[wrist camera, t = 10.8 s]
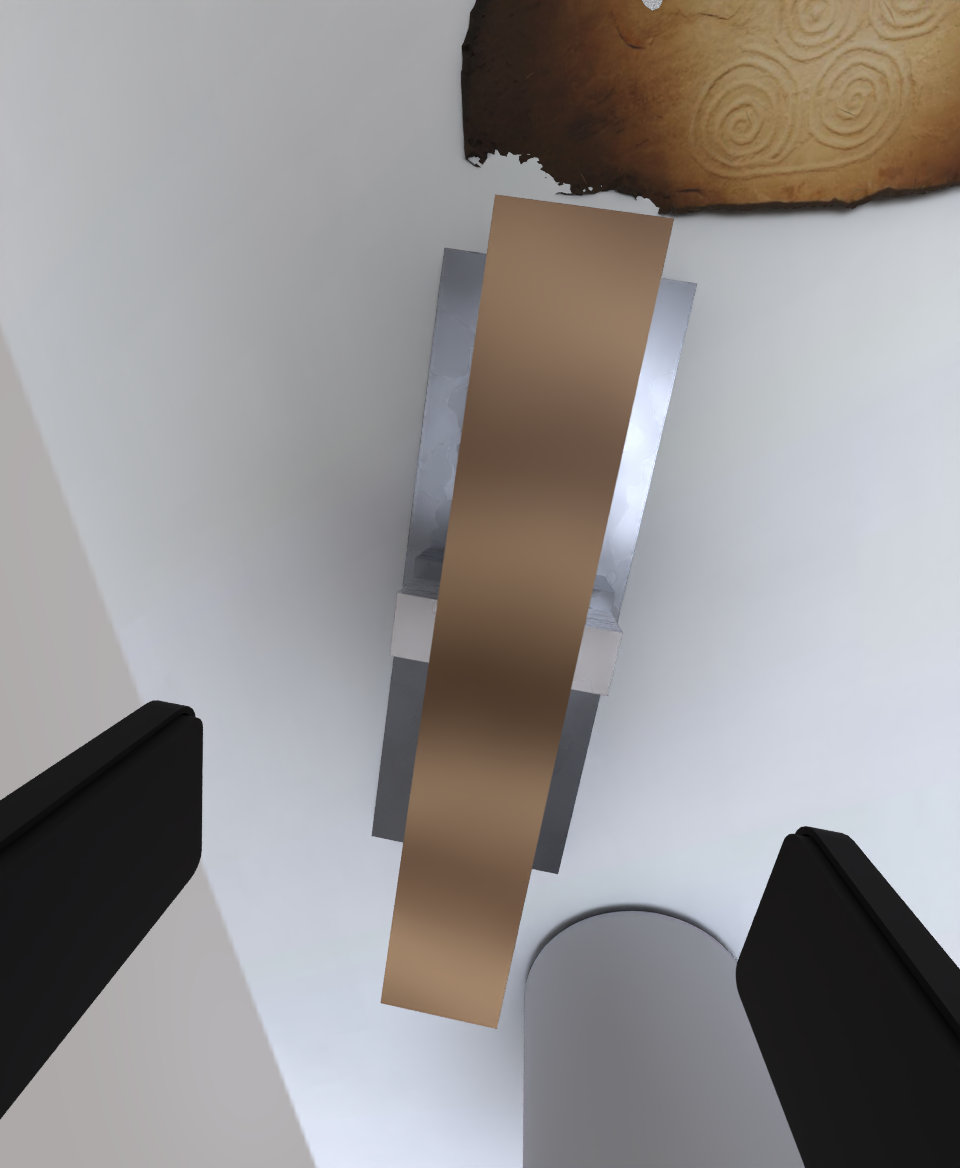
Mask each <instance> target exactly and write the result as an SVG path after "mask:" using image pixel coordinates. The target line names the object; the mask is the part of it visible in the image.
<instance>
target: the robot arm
mask: <svg viewBox="0 0 960 1168" xmlns="http://www.w3.org/2000/svg"><path fill="white" fill-rule="evenodd" d="M202 766H203V724H202V721H201V719H199V718H196V717H195V712H194V711H193V709H192V708H191V707H189V706H184V705H179V704H174V703H168V702H163V701H158V700H157V701H151V702H149V703H147V704H145V705H144V706H142V707H140V708H139V709H137V710H136V711H134V712H133V713H131V714H130V715H128V716H127V717H126V718H124V719H122V720H121V721H120V722H118V723H116V724H115V725H113V726H112V727H110V728H109V729H107V730H106V731H104V732H103V733H101V734H100V735H98V736H97V737H95V738H94V739H92V740H91V741H89V742H88V743H86V744H85V745H84V746H82V747H80V748H79V749H77V750H76V751H74V752H73V753H71V754H70V755H68V756H67V757H65V758H64V759H62V760H61V761H59V762H57V763H56V764H54V765H53V766H51V767H50V768H48V769H47V770H45V771H44V772H43V773H41V774H39V775H38V776H36V777H35V778H34V779H32V780H30V781H29V782H27V783H26V784H24V785H23V786H21V787H20V788H18V789H17V790H15V791H14V792H12V793H11V794H9V795H8V796H6V797H5V798H3V799H2V800H0V1119H1V1118H2V1117H3V1115H4V1114H5V1113H6V1111H7V1110H8V1109H9V1108H10V1106H11V1105H12V1104H13V1102H14V1101H15V1100H16V1099H17V1097H18V1096H19V1095H20V1094H21V1092H22V1091H23V1090H24V1089H25V1087H26V1086H27V1085H28V1084H29V1082H30V1081H31V1080H32V1079H33V1077H34V1076H35V1074H36V1073H37V1072H38V1071H39V1070H40V1068H41V1067H42V1066H43V1065H44V1063H45V1062H46V1061H47V1060H48V1058H49V1057H50V1056H51V1054H52V1053H53V1052H54V1051H55V1050H56V1048H57V1047H58V1046H59V1044H60V1043H61V1042H62V1041H63V1039H64V1038H65V1037H66V1036H67V1034H68V1033H69V1032H70V1031H71V1029H72V1028H73V1027H74V1025H75V1024H76V1023H77V1022H78V1020H79V1019H80V1018H81V1016H82V1015H83V1014H84V1013H85V1011H86V1010H87V1009H88V1008H89V1006H90V1005H91V1004H92V1003H93V1001H94V1000H95V999H96V997H97V996H98V995H99V994H100V993H101V991H102V990H103V989H104V988H105V986H106V985H107V984H108V982H109V981H110V980H111V978H112V977H113V976H114V975H115V974H116V972H117V971H118V969H120V967H121V966H122V965H123V964H124V962H125V961H126V960H127V958H128V957H129V956H130V955H131V953H132V952H133V951H134V950H135V948H136V947H137V946H138V945H139V943H140V942H141V941H142V940H143V938H144V937H145V936H146V934H147V933H148V932H149V931H150V929H151V928H152V927H153V926H154V924H155V923H156V922H157V921H158V919H159V918H160V917H161V915H162V914H163V913H164V912H165V910H166V909H167V908H168V907H169V905H170V904H171V903H172V902H173V900H174V899H175V898H176V897H177V895H178V894H179V893H180V891H181V890H182V889H183V888H184V886H185V885H186V884H187V883H188V881H189V880H190V879H191V877H192V876H193V874H194V873H195V871H196V869H197V867H198V864H199V861H200V858H201V852H202ZM735 975H736V985H737V990H738V993H739V996H740V999H741V1002H742V1004H743V1007H744V1009H745V1012H746V1015H747V1017H748V1020H749V1023H750V1025H751V1028H752V1030H753V1033H754V1036H755V1038H756V1041H757V1044H758V1046H759V1049H760V1051H761V1054H762V1057H763V1059H764V1062H765V1064H766V1067H767V1070H768V1072H769V1075H770V1078H771V1080H772V1083H773V1085H774V1088H775V1091H776V1093H777V1096H778V1098H779V1101H780V1104H781V1106H782V1109H783V1112H784V1114H785V1117H786V1119H787V1122H788V1125H789V1127H790V1130H791V1132H792V1135H793V1138H794V1140H795V1143H796V1146H797V1148H798V1151H799V1153H800V1156H801V1159H802V1161H803V1164H804V1166H805V1168H960V969H959V968H958V967H957V965H956V964H955V963H954V962H953V960H952V959H951V958H950V957H949V956H948V954H947V953H946V952H945V951H944V950H943V948H942V947H941V946H940V945H939V944H938V942H937V941H936V940H935V939H934V937H933V936H932V935H931V934H930V933H929V931H928V930H927V929H926V928H925V927H924V925H923V924H922V923H921V922H920V920H919V919H918V918H917V917H916V916H915V914H914V913H913V912H912V911H911V910H910V908H909V907H908V906H907V905H906V904H905V902H904V901H903V900H902V899H901V897H900V896H899V895H898V894H897V893H896V891H895V890H894V889H893V888H892V887H891V885H890V884H889V883H888V882H887V881H886V879H885V878H884V877H883V876H882V874H881V873H880V872H879V871H878V870H877V868H876V867H875V866H874V865H873V864H872V862H871V861H870V860H869V859H868V858H867V856H866V855H865V854H864V853H863V851H862V850H861V849H860V848H859V847H858V845H857V844H856V843H855V842H854V841H853V840H852V839H851V838H850V837H849V836H848V835H845V834H843V833H839V832H833V831H828V830H823V829H818V828H813V827H808V826H805V827H801V828H799V829H798V830H797V831H796V833H795V834H789V835H788V836H786V838H785V839H784V841H783V844H782V846H781V849H780V852H779V854H778V857H777V859H776V862H775V865H774V867H773V870H772V873H771V875H770V878H769V880H768V883H767V886H766V888H765V891H764V894H763V896H762V899H761V901H760V904H759V907H758V909H757V912H756V915H755V917H754V920H753V922H752V925H751V928H750V930H749V933H748V936H747V938H746V941H745V943H744V946H743V949H742V951H741V954H740V956H739V959H738V962H737V965H736V974H735Z"/></svg>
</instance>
